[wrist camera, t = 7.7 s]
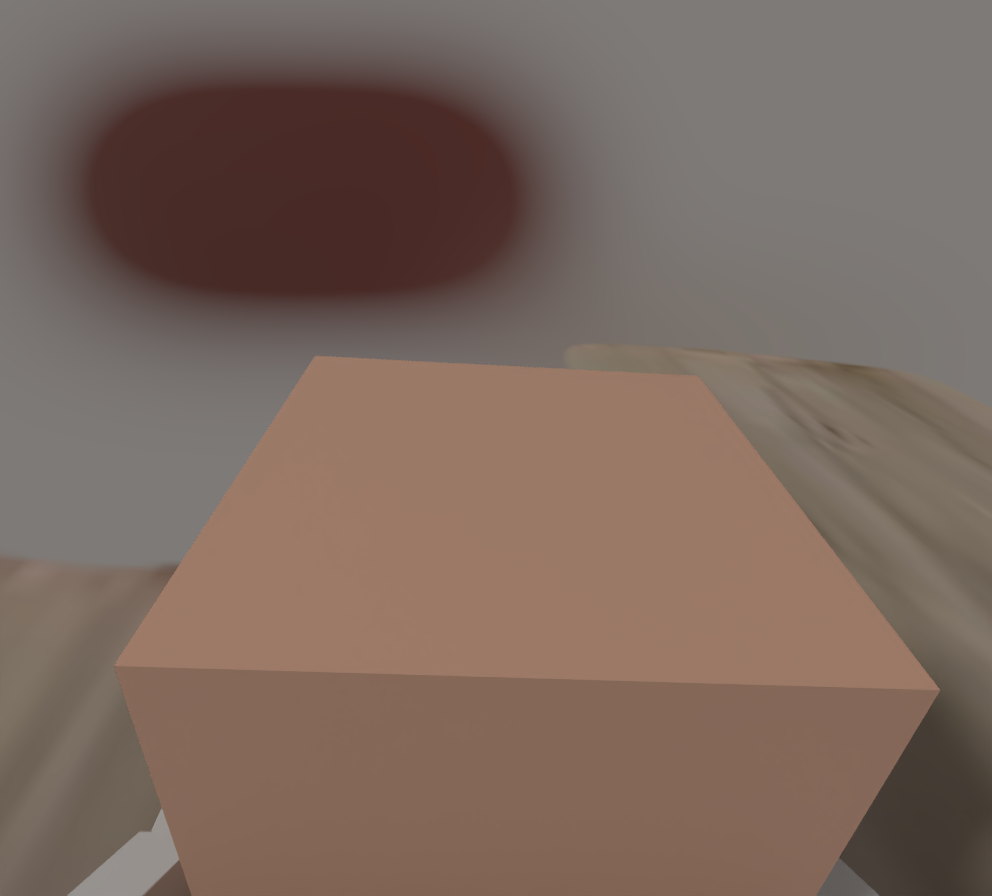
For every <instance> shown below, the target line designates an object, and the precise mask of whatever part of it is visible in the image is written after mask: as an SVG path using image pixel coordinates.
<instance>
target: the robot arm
mask: <svg viewBox="0 0 992 896" xmlns="http://www.w3.org/2000/svg"><path fill="white" fill-rule="evenodd" d="M67 896H192V895H191V892H190V890H189V887H188V884H187V881H186V878H185V875H184V872H183V869H182V866H181V863H180V860H179V857H178V854H177V851H176V848H175V845H174V842H173V839H172V836H171V833H170V830H169V827H168V825H167V822H166V819H165V816H164V813H163V810H162V809H161V811H160V813H159V815H158V817H157V820H156V822H155V824H154V826H153V828H152V831H140V832H138V833H137V834H136V835H135V836H134V837H133V838H132V839H130V840H129V841H128V842H127V843H126V844H125V845H124V846H123V847H121V848H120V849H119V850H118V851H117V852H116V853H115V854H114V855H112V856H111V857H110V858H109V859H108V860H107V861H106V862H104V863H103V864H102V865H101V866H100V867H99V868H98V869H97V870H95V871H94V872H93V873H92V874H91V875H90V876H89V877H88V878H86V879H85V880H84V881H83V882H82V883H81V884H80V885H78V886H77V887H76V888H75V889H74V890H73V891H72V892H71V893H69V894H68V895H67ZM816 896H879V895H878V894H877V893H876V892H875V891H874V890H873V889H872V888H871V887H870V886H869V885H868V884H867V883H866V882H865V881H864V880H863V879H862V878H860V877H859V876H858V875H857V874H856V873H855V872H854V871H853V870H852V869H851V868H850V867H849V866H848V865H847V864H846V863H845V862H844V861H842V860H841V859H840V858H839V859H838V860H837V862H836V864H835V865H834V867H833V868H832V870H831V872H830V873H829V875H828V877H827V878H826V880H825V882H824V883H823V885H822V887H821V888H820V890H819V892H818V893H817V895H816Z"/></svg>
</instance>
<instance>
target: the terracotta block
mask: <svg viewBox="0 0 992 896" xmlns="http://www.w3.org/2000/svg"><path fill="white" fill-rule="evenodd" d="M114 668H115V671H116V674H117V677H118V680H119V683H120V686H121V689H122V692H123V695H124V698H125V701H126V703H127V706H128V709H129V712H130V715H131V718H132V721H133V724H134V727H135V730H136V733H137V736H138V739H139V742H140V745H141V748H142V751H143V754H144V757H145V760H146V763H147V765H148V768H149V771H150V774H151V777H152V780H153V783H154V786H155V789H156V792H157V795H158V798H159V801H160V804H161V807H162V810H163V813H164V816H165V819H166V822H167V825H168V827H169V830H170V833H171V836H172V839H173V842H174V845H175V848H176V851H177V854H178V857H179V860H180V863H181V866H182V869H183V872H184V875H185V878H186V881H187V884H188V887H189V890H190V892H191V895H192V896H816V895H817V893H818V892H819V890H820V888H821V887H822V885H823V883H824V882H825V880H826V878H827V877H828V875H829V873H830V872H831V870H832V868H833V867H834V865H835V864H836V862H837V860H838V859H839V857H840V855H841V854H842V852H843V850H844V849H845V847H846V845H847V844H848V842H849V840H850V839H851V837H852V835H853V834H854V832H855V830H856V829H857V827H858V826H859V824H860V822H861V821H862V819H863V817H864V816H865V814H866V812H867V811H868V809H869V807H870V806H871V804H872V802H873V801H874V799H875V797H876V796H877V794H878V792H879V791H880V789H881V787H882V786H883V784H884V783H885V781H886V779H887V778H888V776H889V774H890V773H891V771H892V769H893V768H894V766H895V764H896V763H897V761H898V759H899V758H900V756H901V754H902V753H903V751H904V749H905V748H906V746H907V745H908V743H909V741H910V740H911V738H912V736H913V735H914V733H915V731H916V730H917V728H918V726H919V725H920V723H921V721H922V720H923V718H924V716H925V715H926V713H927V711H928V710H929V708H930V707H931V705H932V703H933V702H934V700H935V698H936V697H937V695H938V693H939V692H940V689H939V688H938V686H937V685H936V684H935V683H934V681H933V680H932V679H931V677H930V676H929V675H928V673H927V672H926V671H925V670H924V668H923V667H922V666H921V664H920V663H919V662H918V661H917V659H916V658H915V657H914V655H913V654H912V653H911V651H910V650H909V649H908V648H907V646H906V645H905V644H904V642H903V641H902V640H901V638H900V637H899V636H898V635H897V633H896V632H895V631H894V629H893V628H892V627H891V625H890V624H889V623H888V622H887V620H886V619H885V618H884V616H883V615H882V614H881V612H880V611H879V610H878V609H877V607H876V606H875V605H874V603H873V602H872V601H871V599H870V598H869V597H868V596H867V594H866V593H865V592H864V590H863V589H862V588H861V587H860V585H859V584H858V583H857V581H856V580H855V579H854V577H853V576H852V575H851V574H850V572H849V571H848V570H847V568H846V567H845V566H844V564H843V563H842V562H841V561H840V559H839V558H838V557H837V555H836V554H835V553H834V551H833V550H832V549H831V548H830V546H829V545H828V544H827V542H826V541H825V540H824V538H823V537H822V536H821V535H820V533H819V532H818V531H817V529H816V528H815V527H814V525H813V524H812V523H811V522H810V520H809V519H808V518H807V516H806V515H805V514H804V513H803V511H802V510H801V509H800V507H799V506H798V505H797V503H796V502H795V501H794V500H793V498H792V497H791V496H790V494H789V493H788V492H787V490H786V489H785V488H784V487H783V485H782V484H781V483H780V481H779V480H778V479H777V477H776V476H775V475H774V474H773V472H772V471H771V470H770V468H769V467H768V466H767V464H766V463H765V462H764V461H763V459H762V458H761V457H760V455H759V454H758V453H757V452H756V450H755V449H754V448H753V446H752V445H751V444H750V442H749V441H748V440H747V439H746V437H745V436H744V435H743V433H742V432H741V431H740V429H739V428H738V427H737V426H736V424H735V423H734V422H733V420H732V419H731V418H730V416H729V415H728V414H727V413H726V411H725V410H724V409H723V407H722V406H721V405H720V403H719V402H718V401H717V400H716V398H715V397H714V396H713V394H712V393H711V392H710V390H709V389H708V388H707V387H706V385H705V384H704V383H703V381H702V380H701V379H700V378H699V376H689V375H670V374H651V373H632V372H613V371H593V370H574V369H555V368H536V367H517V366H498V365H479V364H459V363H441V362H422V361H421V362H420V361H403V360H384V359H364V358H346V357H327V356H315V357H314V359H313V360H312V362H311V363H310V365H309V366H308V368H307V369H306V371H305V372H304V374H303V376H302V377H301V379H300V380H299V382H298V383H297V385H296V386H295V388H294V389H293V391H292V392H291V394H290V395H289V397H288V399H287V400H286V402H285V403H284V405H283V406H282V408H281V409H280V411H279V412H278V414H277V415H276V417H275V419H274V420H273V422H272V423H271V425H270V426H269V428H268V429H267V431H266V432H265V434H264V436H263V437H262V439H261V440H260V442H259V443H258V445H257V446H256V448H255V449H254V451H253V452H252V454H251V455H250V457H249V459H248V460H247V462H246V463H245V465H244V466H243V468H242V469H241V471H240V472H239V474H238V476H237V477H236V479H235V480H234V482H233V483H232V485H231V486H230V488H229V490H228V491H227V492H226V494H225V496H224V497H223V499H222V500H221V502H220V503H219V505H218V507H217V508H216V509H215V511H214V513H213V514H212V516H211V517H210V519H209V520H208V522H207V523H206V525H205V527H204V528H203V529H202V531H201V532H200V534H199V536H198V537H197V539H196V540H195V542H194V543H193V545H192V546H191V548H190V549H189V551H188V552H187V554H186V556H185V557H184V559H183V560H182V562H181V563H180V565H179V566H178V568H177V569H176V571H175V573H174V574H173V576H172V577H171V579H170V580H169V582H168V583H167V585H166V586H165V588H164V589H163V591H162V593H161V594H160V596H159V597H158V599H157V600H156V602H155V603H154V605H153V606H152V608H151V609H150V611H149V613H148V614H147V616H146V617H145V619H144V620H143V622H142V623H141V625H140V626H139V628H138V629H137V631H136V633H135V634H134V636H133V637H132V639H131V640H130V642H129V643H128V645H127V646H126V648H125V649H124V651H123V653H122V654H121V656H120V657H119V659H118V660H117V662H116V663H115V665H114Z"/></svg>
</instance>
